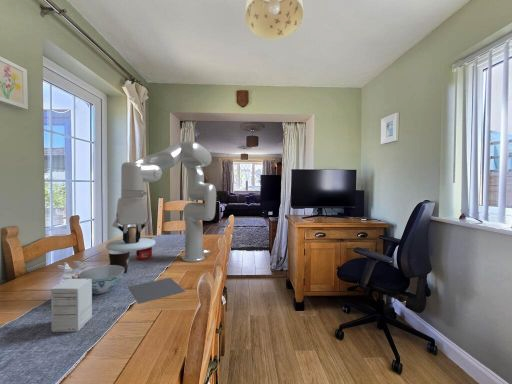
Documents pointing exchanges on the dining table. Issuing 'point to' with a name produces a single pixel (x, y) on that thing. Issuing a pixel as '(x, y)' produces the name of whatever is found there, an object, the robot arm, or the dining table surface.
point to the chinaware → (103, 277)
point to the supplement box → (71, 305)
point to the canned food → (144, 252)
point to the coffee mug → (119, 259)
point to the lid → (130, 242)
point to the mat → (155, 290)
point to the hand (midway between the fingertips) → (131, 241)
